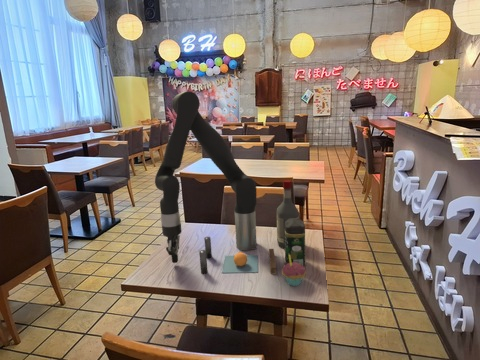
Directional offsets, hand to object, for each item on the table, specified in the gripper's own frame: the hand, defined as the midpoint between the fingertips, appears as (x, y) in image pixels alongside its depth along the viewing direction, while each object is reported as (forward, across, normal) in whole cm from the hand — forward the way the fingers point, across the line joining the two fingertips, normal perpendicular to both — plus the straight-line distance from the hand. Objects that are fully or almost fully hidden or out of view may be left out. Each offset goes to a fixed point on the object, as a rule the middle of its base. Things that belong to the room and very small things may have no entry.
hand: (175, 261), depth 131 cm
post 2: (+2, +6, -13) cm, 15 cm away
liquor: (+2, +17, -48) cm, 51 cm away
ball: (-1, -1, -27) cm, 27 cm away
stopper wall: (+2, 0, -40) cm, 40 cm away
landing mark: (+2, 0, -27) cm, 27 cm away
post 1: (+2, -6, -13) cm, 15 cm away
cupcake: (+2, -14, -47) cm, 49 cm away
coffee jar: (+2, -1, -49) cm, 49 cm away
